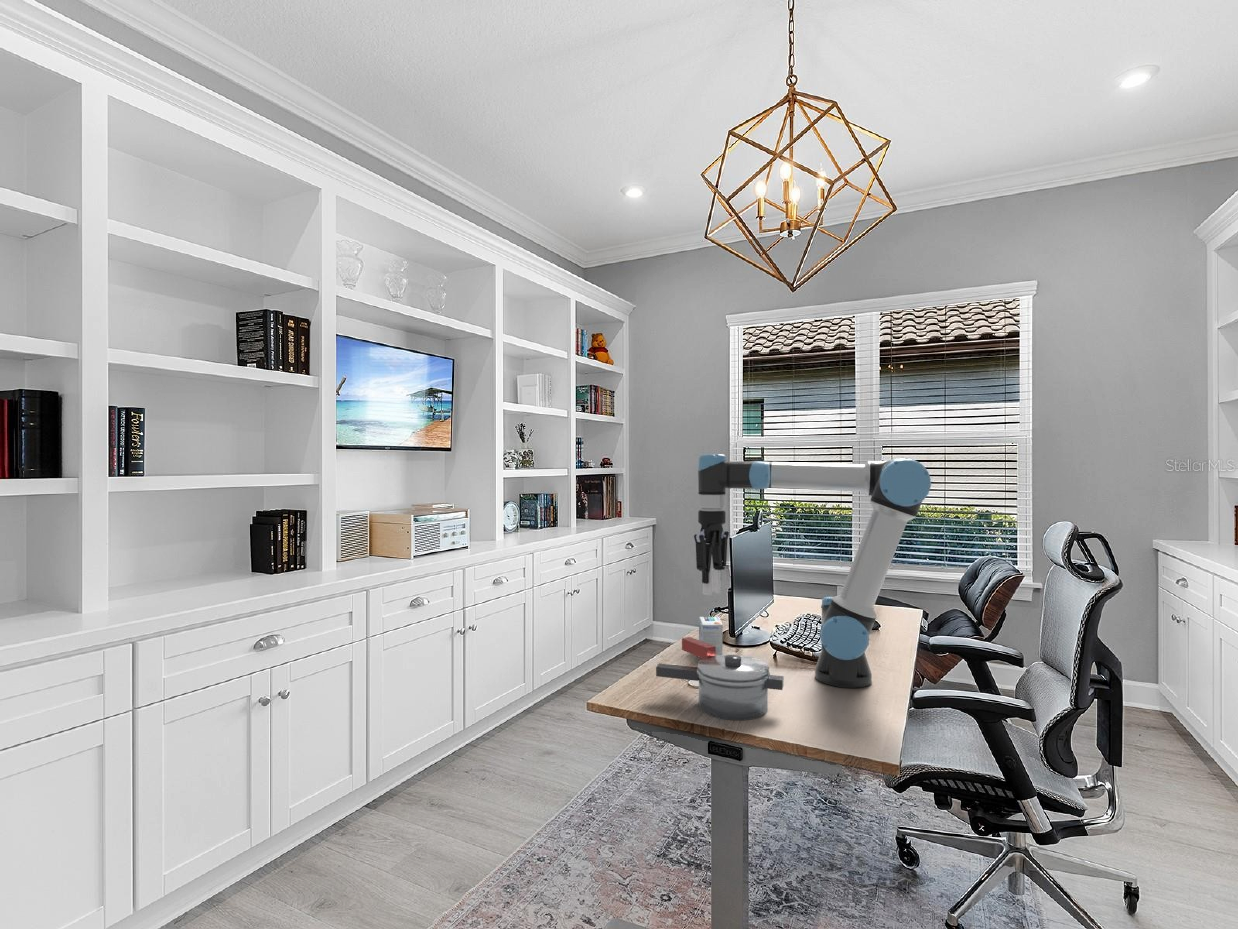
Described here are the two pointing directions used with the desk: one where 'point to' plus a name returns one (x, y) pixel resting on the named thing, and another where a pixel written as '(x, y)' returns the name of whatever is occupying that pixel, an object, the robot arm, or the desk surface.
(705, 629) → the light bulb box
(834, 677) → the robot arm
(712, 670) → the lid
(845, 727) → the desk surface
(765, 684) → the cooker pot
